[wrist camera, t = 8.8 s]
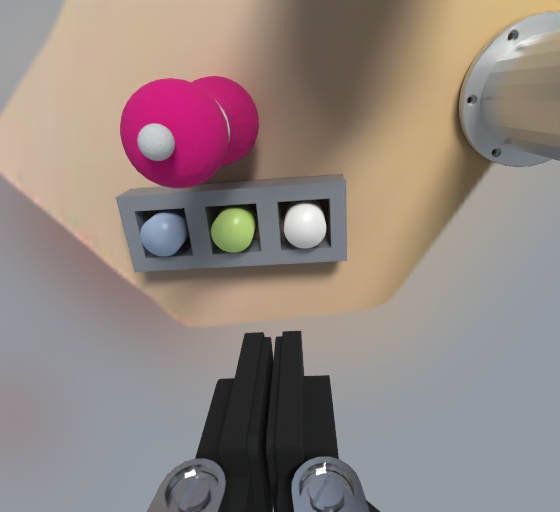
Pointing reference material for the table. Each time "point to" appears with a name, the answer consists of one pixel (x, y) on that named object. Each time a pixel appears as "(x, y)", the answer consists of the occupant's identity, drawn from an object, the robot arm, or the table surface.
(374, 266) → the table surface
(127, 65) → the table surface
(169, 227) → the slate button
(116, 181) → the table surface
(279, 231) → the panel
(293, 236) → the white rounded piece
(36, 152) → the table surface
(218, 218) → the lime button
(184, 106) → the pepper mill
